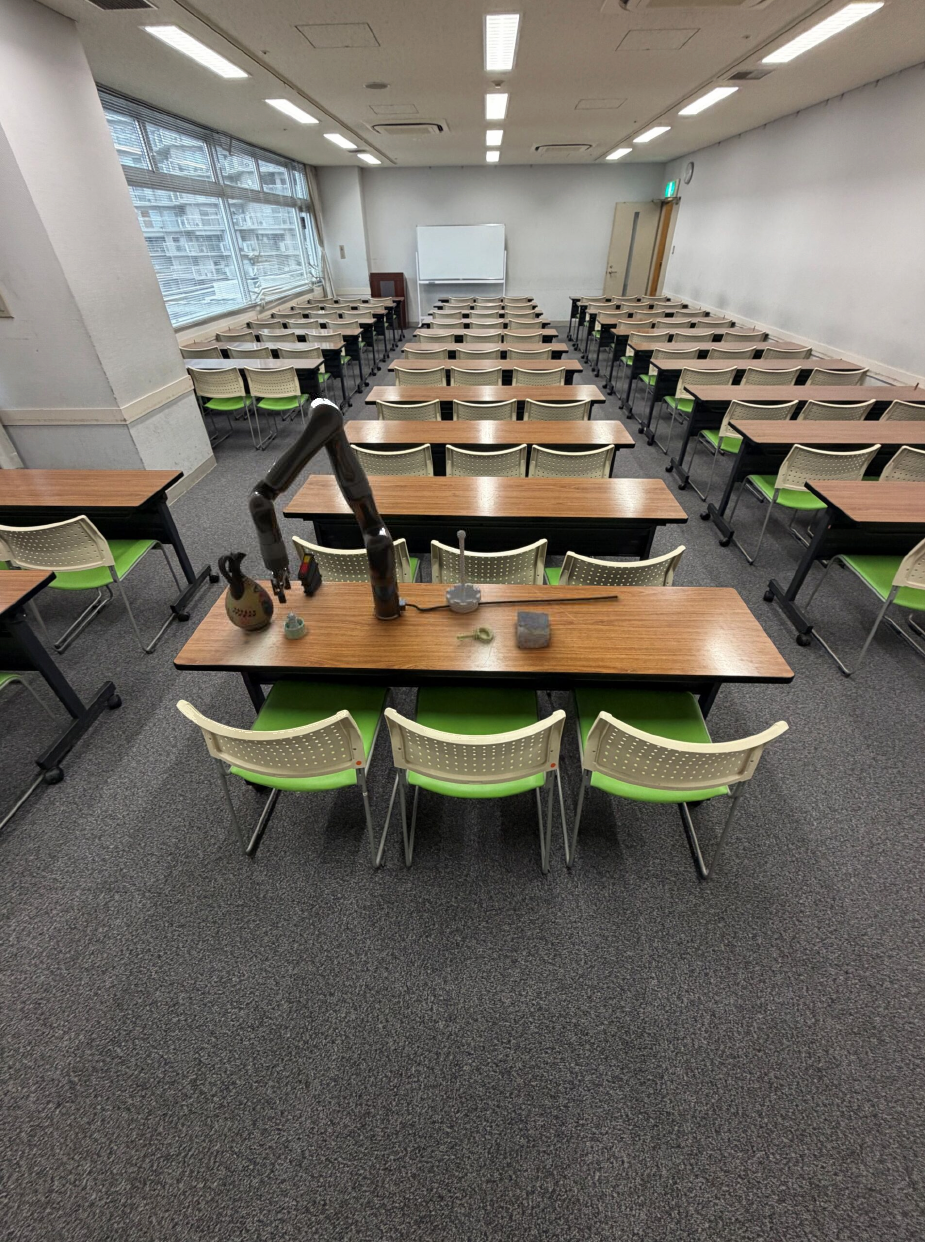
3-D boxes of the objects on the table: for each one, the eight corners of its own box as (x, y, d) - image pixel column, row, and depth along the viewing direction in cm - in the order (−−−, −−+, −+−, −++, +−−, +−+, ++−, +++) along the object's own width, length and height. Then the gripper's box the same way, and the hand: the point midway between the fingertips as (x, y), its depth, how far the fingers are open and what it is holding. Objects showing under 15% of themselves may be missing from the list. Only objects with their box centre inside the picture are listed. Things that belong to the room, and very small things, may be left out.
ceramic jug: (248, 612, 191) (223, 539, 174) (285, 615, 188) (265, 542, 171) (221, 639, 177) (192, 563, 160) (262, 644, 175) (237, 567, 157)
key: (455, 641, 173) (455, 636, 172) (484, 628, 179) (484, 623, 177) (468, 651, 168) (467, 646, 167) (497, 638, 174) (497, 633, 173)
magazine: (325, 574, 209) (313, 552, 196) (317, 602, 202) (304, 581, 189) (316, 574, 209) (303, 552, 196) (308, 601, 203) (294, 581, 190)
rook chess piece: (305, 630, 180) (300, 611, 175) (297, 637, 177) (291, 618, 172) (295, 627, 181) (290, 609, 177) (286, 634, 178) (281, 615, 174)
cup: (307, 626, 182) (305, 617, 180) (304, 638, 177) (302, 628, 174) (288, 628, 182) (285, 618, 179) (284, 640, 176) (281, 630, 174)
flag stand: (481, 614, 186) (480, 539, 168) (445, 614, 186) (441, 539, 168) (480, 594, 196) (480, 522, 179) (447, 595, 197) (443, 523, 179)
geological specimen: (548, 610, 177) (551, 635, 165) (546, 625, 181) (549, 650, 168) (517, 609, 178) (518, 633, 165) (516, 624, 181) (517, 648, 169)
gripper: (281, 562, 155) (293, 607, 165) (290, 541, 167) (300, 584, 176) (256, 564, 155) (269, 608, 164) (266, 543, 166) (278, 585, 176)
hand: (285, 595), depth 170 cm, fingers open, 8 cm apart
